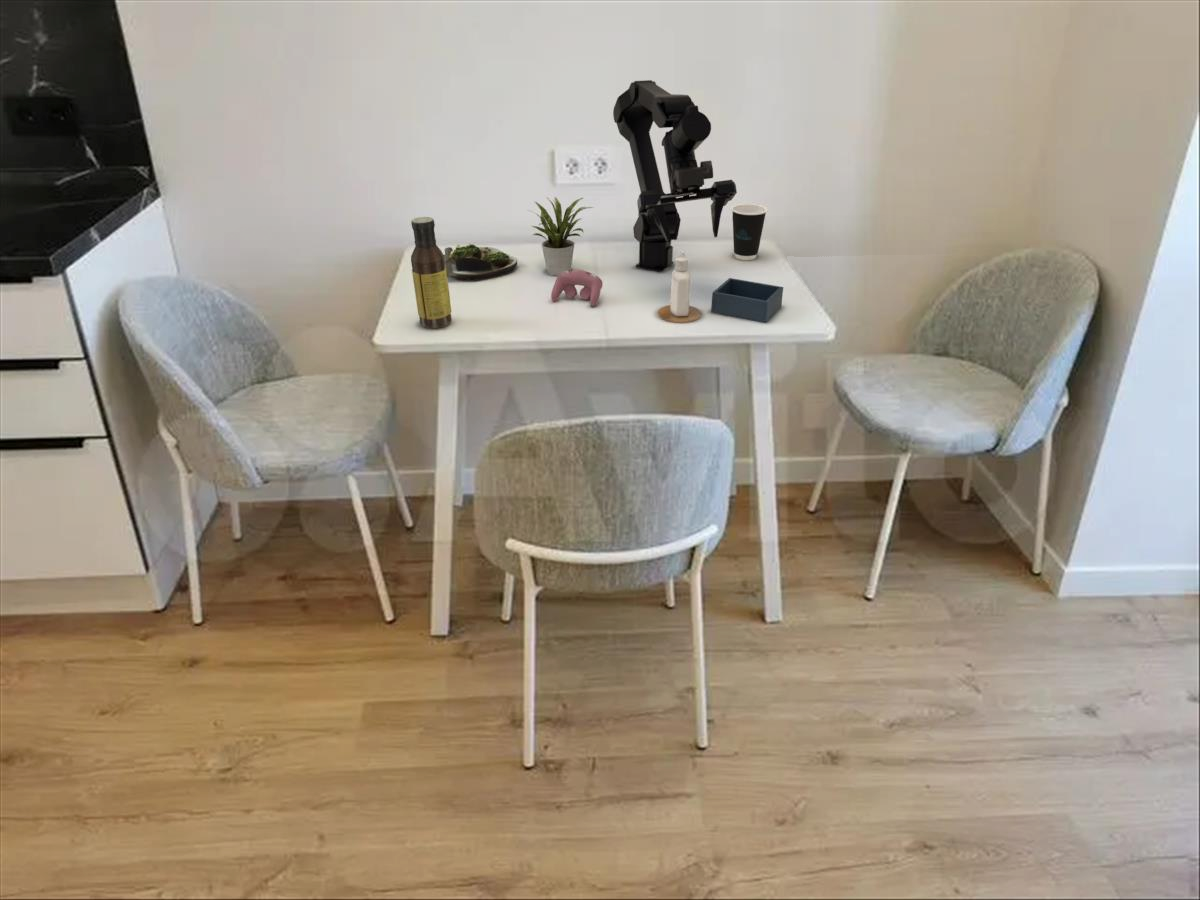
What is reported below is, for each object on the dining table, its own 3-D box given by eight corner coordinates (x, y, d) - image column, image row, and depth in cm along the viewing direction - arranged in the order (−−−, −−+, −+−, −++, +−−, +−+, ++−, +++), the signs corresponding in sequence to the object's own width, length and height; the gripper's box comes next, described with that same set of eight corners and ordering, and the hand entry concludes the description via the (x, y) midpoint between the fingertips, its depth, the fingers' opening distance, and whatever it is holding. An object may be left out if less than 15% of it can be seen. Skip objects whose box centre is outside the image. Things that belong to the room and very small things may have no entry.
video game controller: (601, 308, 178) (606, 273, 177) (594, 306, 174) (599, 270, 173) (555, 303, 181) (560, 268, 180) (548, 300, 177) (553, 265, 176)
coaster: (650, 317, 170) (650, 315, 170) (668, 303, 176) (668, 301, 176) (690, 325, 166) (690, 323, 166) (707, 311, 173) (707, 309, 173)
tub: (710, 312, 172) (712, 292, 170) (728, 297, 179) (729, 277, 177) (765, 322, 168) (767, 302, 165) (781, 306, 175) (783, 286, 172)
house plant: (603, 262, 198) (603, 189, 189) (590, 283, 186) (589, 206, 178) (541, 258, 200) (538, 186, 192) (524, 279, 189) (521, 202, 180)
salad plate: (415, 262, 199) (412, 242, 196) (485, 247, 207) (483, 228, 205) (454, 286, 185) (452, 265, 183) (527, 270, 194) (526, 249, 191)
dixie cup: (731, 262, 197) (735, 214, 192) (724, 251, 204) (728, 204, 199) (766, 261, 198) (771, 213, 192) (758, 250, 205) (762, 203, 199)
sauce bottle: (458, 320, 169) (449, 217, 159) (440, 331, 164) (429, 226, 154) (430, 314, 172) (419, 212, 161) (411, 326, 167) (398, 221, 157)
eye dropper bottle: (664, 315, 170) (666, 254, 164) (673, 305, 174) (675, 246, 168) (685, 318, 168) (688, 257, 162) (694, 308, 173) (697, 248, 167)
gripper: (637, 152, 163) (650, 236, 163) (736, 140, 164) (749, 223, 164) (632, 172, 174) (643, 250, 174) (724, 159, 175) (736, 237, 175)
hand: (692, 240), depth 172 cm, fingers open, 9 cm apart
